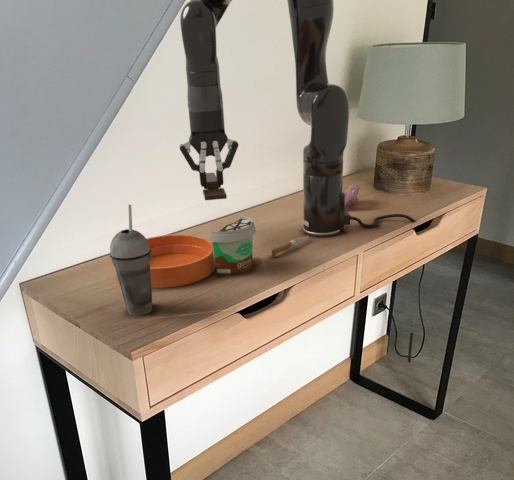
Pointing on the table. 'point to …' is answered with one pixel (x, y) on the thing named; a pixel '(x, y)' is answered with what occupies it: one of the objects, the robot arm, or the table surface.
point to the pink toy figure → (351, 195)
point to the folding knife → (288, 245)
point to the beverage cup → (133, 268)
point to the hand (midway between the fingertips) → (212, 187)
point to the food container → (234, 247)
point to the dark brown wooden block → (213, 188)
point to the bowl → (180, 260)
